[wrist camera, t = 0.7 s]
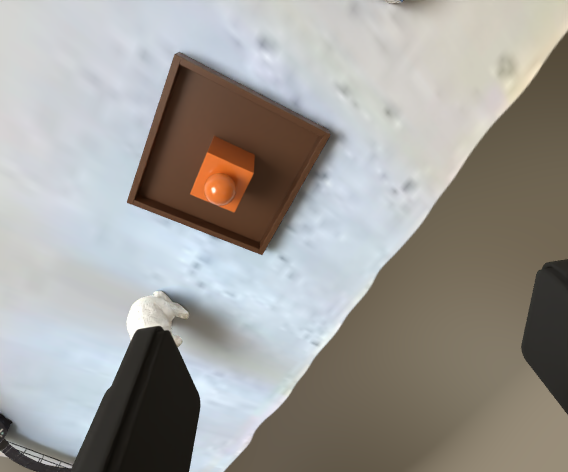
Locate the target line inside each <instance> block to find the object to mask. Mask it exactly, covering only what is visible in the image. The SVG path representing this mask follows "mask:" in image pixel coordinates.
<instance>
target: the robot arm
mask: <svg viewBox="0 0 568 472" xmlns="http://www.w3.org/2000/svg"><path fill="white" fill-rule="evenodd" d="M521 348H522V353H523V356H524V358H525V360H526V361H527V362H528V364H529V365H530V366H531V368H532V369H533V370H534V372H535V373H536V374H537V375H538V377H539V378H540V379H541V381H542V382H543V383H544V384H545V386H546V387H547V388H548V390H549V391H550V392H551V394H552V395H553V396H554V397H555V399H556V400H557V401H558V403H559V404H560V405H561V406H562V408H563V409H564V410H565V412H566V413H567V414H568V259H567V260H560V261H554V262H548V263H545V264H544V266H543V268H542V270H539V271H538V272H537V274H536V279H535V284H534V288H533V293H532V298H531V303H530V308H529V312H528V317H527V322H526V327H525V331H524V336H523V340H522V346H521ZM199 412H200V397H199V394H198V391H197V389H196V387H195V385H194V383H193V381H192V378H191V376H190V374H189V372H188V370H187V367H186V365H185V363H184V361H183V359H182V356H181V354H180V352H179V350H178V348H177V345H176V343H175V341H174V339H173V337H172V335H171V333H170V331H169V330H165V331H164V329H163V328H162V327H161V326H154V327H148V328H142V329H138V330H136V331H135V333H134V335H133V337H132V340H131V342H130V344H129V347H128V349H127V351H126V354H125V356H124V358H123V360H122V363H121V365H120V367H119V370H118V372H117V374H116V377H115V379H114V381H113V384H112V386H111V387H110V388H109V389H108V390H107V391H106V393H105V395H104V397H103V399H102V401H101V403H100V406H99V408H98V410H97V412H96V415H95V417H94V419H93V422H92V424H91V426H90V428H89V431H88V433H87V435H86V437H85V440H84V442H83V444H82V446H81V449H80V451H79V453H78V455H77V458H76V460H75V462H74V464H73V467H72V469H71V471H70V472H189V469H190V463H191V458H192V452H193V446H194V441H195V435H196V429H197V424H198V418H199Z"/></svg>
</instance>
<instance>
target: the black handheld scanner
mask: <svg viewBox="0 0 568 472" xmlns="http://www.w3.org/2000/svg"><path fill="white" fill-rule="evenodd" d="M11 423H12V422H11V421H10V420H8V419H7V418H5V417H4V416H2V415H1V414H0V451H2V450H3V451H2V452H3V453H4V454H5V455H6V456H7V457H9V458H10V459H11V460H13V461H14V462H16V463H18V464H20V465H22V466H24V467H26V468H29V469H31V470H33V471H36V472H70V471H71V469H72V468H66V467H64V466H62V467H64V468H59V466H61V465H60V464H59V466H58V467H53V466H49V465H45V464H42V463H41V462H39V461H38V462H36V461H34V460H32V459H30V458H29V457H27V456H25V455H23V454H24V453H25V451H26V450H25V451H24V452H22V451H20V452H22V453H23V454H22V453H20V452H19V450H16V449H15V448H14V447H12V446H11V445H10V444H9V443H11V442H9V443H8V441H6V440H5V439H4V438H5V435H6V433H7V431H8V428H9V426H10V425H11ZM12 444H14V443H12ZM14 445H17V444H14ZM17 446H19V445H17ZM11 447H12V448H11ZM20 447H22V446H20ZM10 448H11V449H10ZM23 448H25V447H23ZM25 449H27V448H25ZM28 450H30V449H28ZM31 451H33V450H31ZM34 452H36V451H34ZM36 453H38V452H36ZM25 454H28V453H25ZM39 454H41V453H39ZM28 455H30V454H28ZM42 455H44V454H42ZM31 456H33V455H31ZM45 456H47V455H45ZM34 457H36V456H34ZM43 457H44V456H43ZM47 457H49V456H47ZM37 458H39V457H37ZM50 458H52V457H50ZM40 459H41V458H39V460H40ZM53 459H55V458H53ZM42 460H44V459H43V458H42ZM42 460H41V461H42ZM55 460H57V459H55ZM45 461H47V460H45ZM58 461H60V460H58ZM48 462H50V461H48ZM61 462H63V461H61ZM61 462H60V463H61ZM50 463H52V462H50ZM64 463H66V462H64ZM53 464H55V463H53ZM66 464H68V463H66ZM57 465H58V464H56V466H57ZM69 465H71V464H69ZM72 466H73V465H72Z"/></svg>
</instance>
